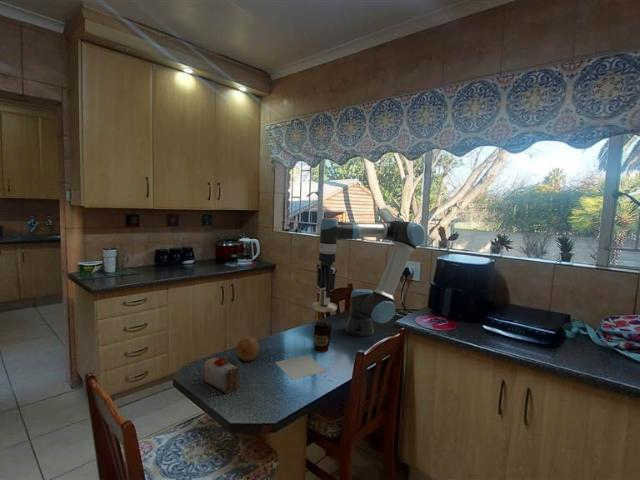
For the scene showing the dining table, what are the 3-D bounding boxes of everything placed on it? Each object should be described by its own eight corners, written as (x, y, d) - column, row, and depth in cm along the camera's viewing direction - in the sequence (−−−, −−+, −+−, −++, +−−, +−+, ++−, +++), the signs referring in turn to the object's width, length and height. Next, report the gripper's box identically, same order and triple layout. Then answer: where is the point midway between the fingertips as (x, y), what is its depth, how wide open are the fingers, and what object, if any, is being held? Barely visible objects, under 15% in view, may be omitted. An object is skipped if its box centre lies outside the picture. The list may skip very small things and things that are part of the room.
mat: (307, 356, 154) (308, 355, 154) (327, 372, 141) (327, 371, 141) (274, 363, 146) (274, 362, 146) (291, 381, 132) (291, 379, 132)
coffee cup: (328, 355, 156) (330, 327, 155) (310, 353, 158) (312, 325, 157) (332, 348, 165) (333, 321, 164) (315, 345, 166) (316, 319, 165)
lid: (327, 303, 167) (328, 286, 167) (342, 310, 157) (343, 292, 157) (306, 305, 161) (307, 288, 160) (319, 313, 151) (320, 295, 150)
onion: (239, 353, 153) (239, 332, 152) (261, 355, 153) (262, 333, 152) (232, 364, 143) (233, 340, 142) (256, 365, 143) (257, 342, 142)
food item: (200, 382, 128) (200, 356, 127) (217, 374, 134) (218, 350, 133) (224, 395, 120) (225, 368, 119) (242, 386, 127) (243, 360, 126)
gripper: (311, 250, 162) (308, 299, 164) (330, 255, 148) (326, 309, 150) (325, 249, 165) (322, 297, 168) (344, 255, 152) (341, 307, 154)
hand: (324, 303), depth 159 cm, fingers closed on lid, 3 cm apart
